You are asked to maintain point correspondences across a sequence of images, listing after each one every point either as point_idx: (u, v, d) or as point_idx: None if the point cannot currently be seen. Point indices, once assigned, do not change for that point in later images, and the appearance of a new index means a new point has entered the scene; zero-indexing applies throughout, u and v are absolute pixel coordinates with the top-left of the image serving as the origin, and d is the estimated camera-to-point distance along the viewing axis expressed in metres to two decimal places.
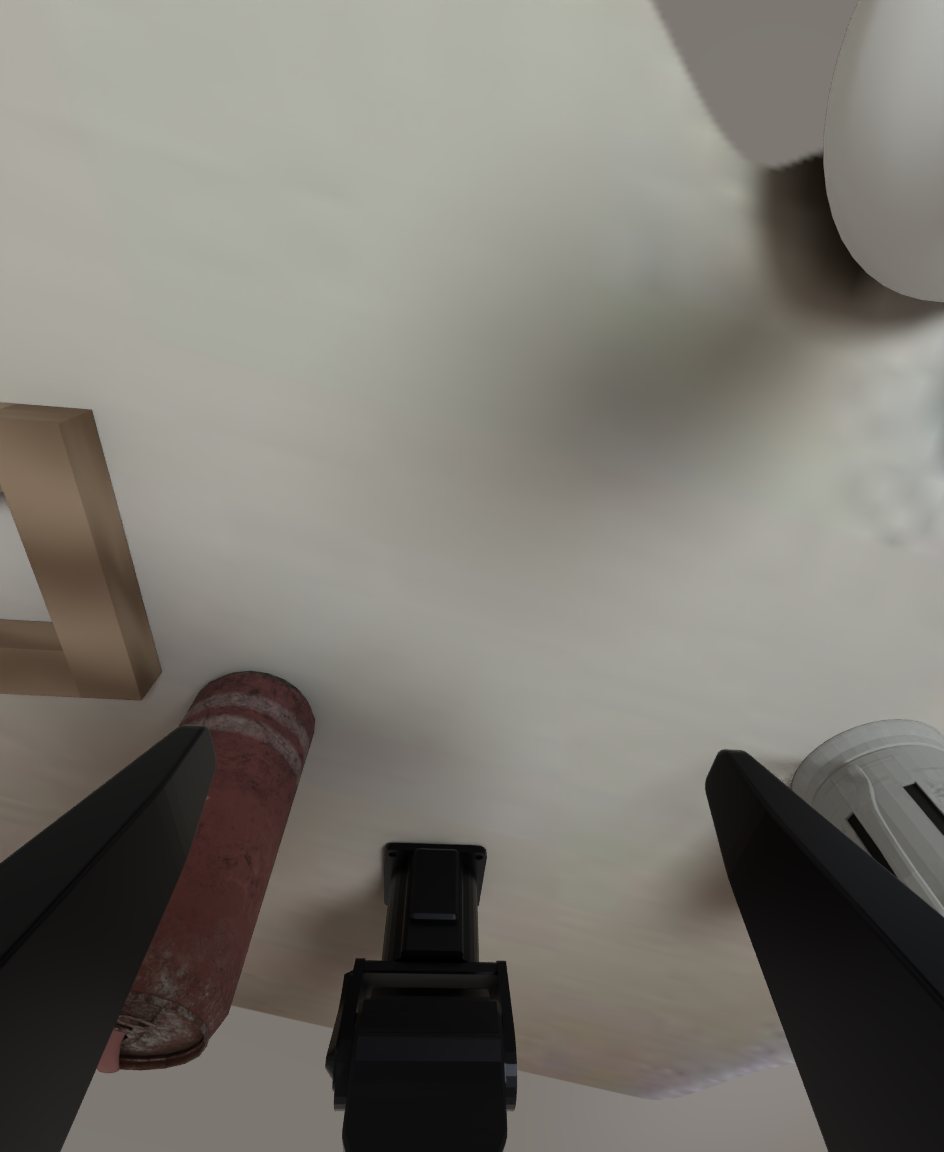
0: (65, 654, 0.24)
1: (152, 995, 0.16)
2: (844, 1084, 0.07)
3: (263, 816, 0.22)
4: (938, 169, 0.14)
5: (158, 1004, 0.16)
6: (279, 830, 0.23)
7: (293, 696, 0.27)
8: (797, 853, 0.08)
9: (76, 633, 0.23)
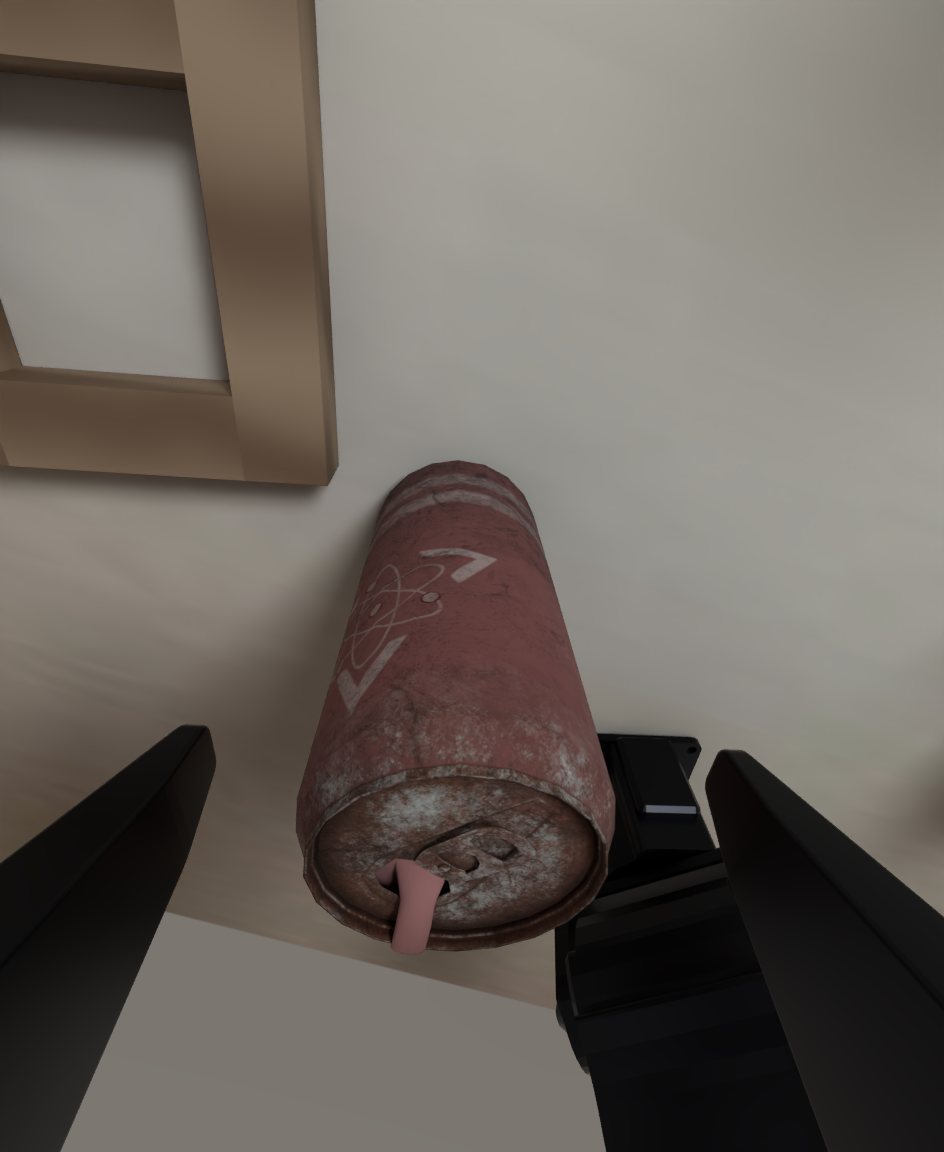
0: (234, 404, 0.17)
1: (554, 788, 0.09)
2: (844, 1084, 0.07)
3: (556, 603, 0.15)
4: None
5: (569, 802, 0.09)
6: None
7: (520, 494, 0.20)
8: (797, 853, 0.08)
9: (255, 364, 0.16)
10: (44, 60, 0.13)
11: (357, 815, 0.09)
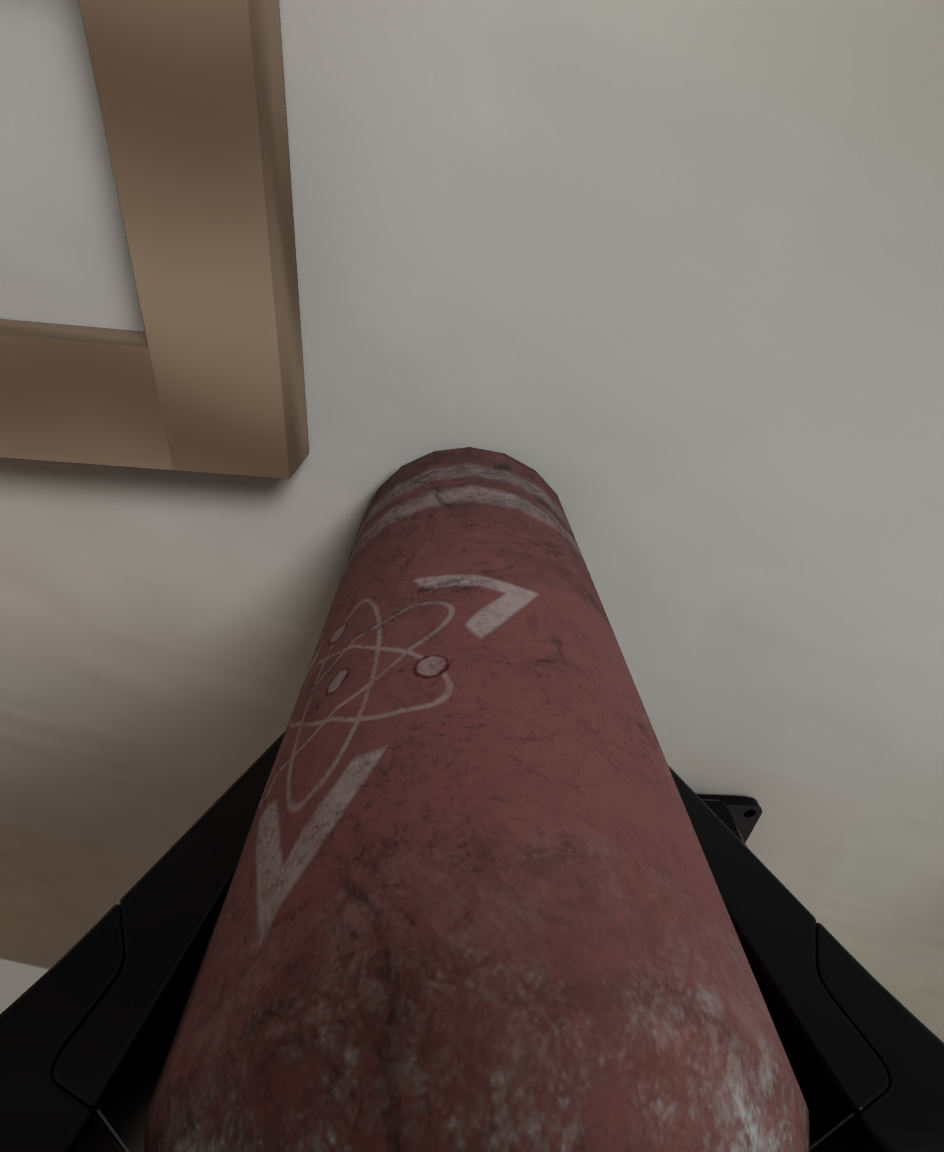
0: (152, 359, 0.12)
1: None
2: None
3: None
4: None
5: None
6: None
7: (553, 494, 0.15)
8: None
9: (180, 298, 0.11)
10: None
11: None
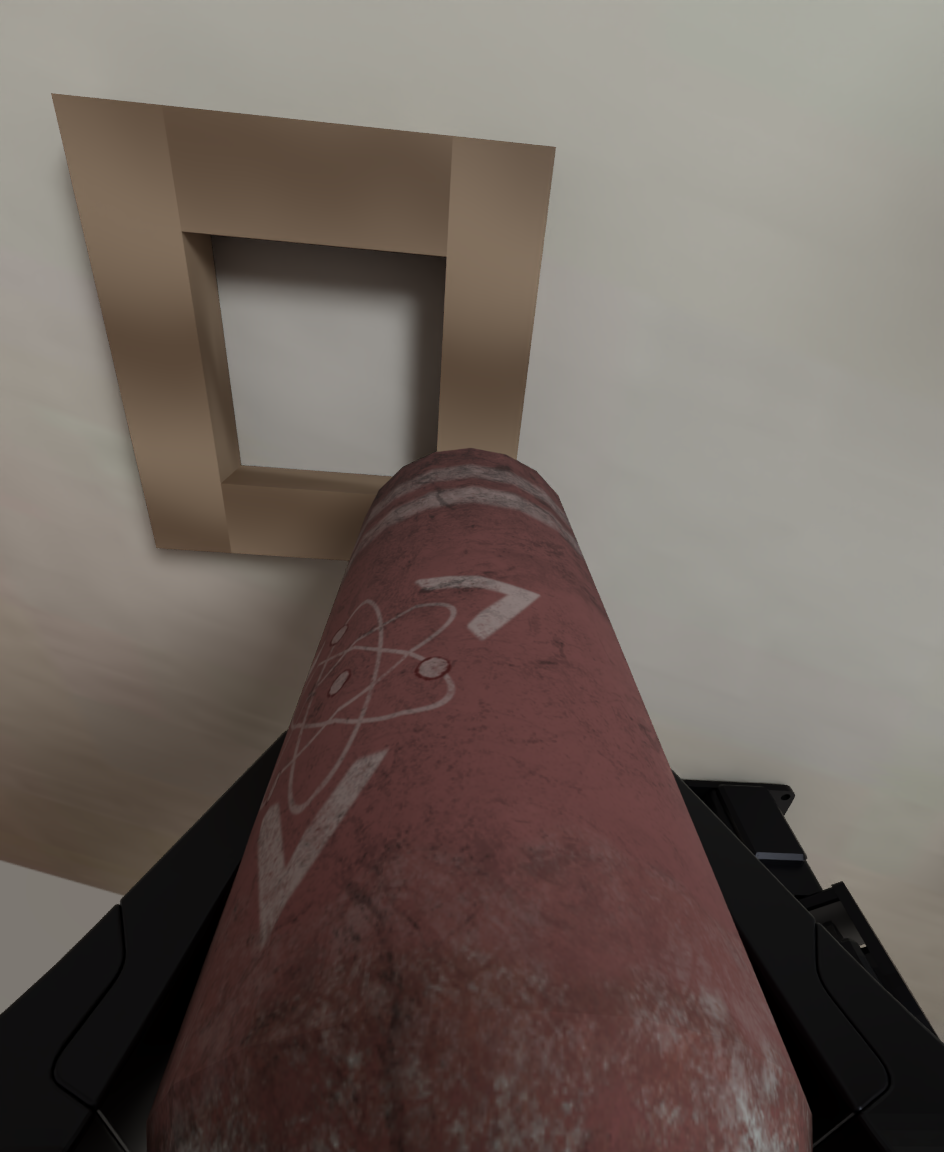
0: None
1: None
2: None
3: None
4: None
5: None
6: None
7: (554, 495, 0.15)
8: None
9: None
10: (332, 245, 0.16)
11: None
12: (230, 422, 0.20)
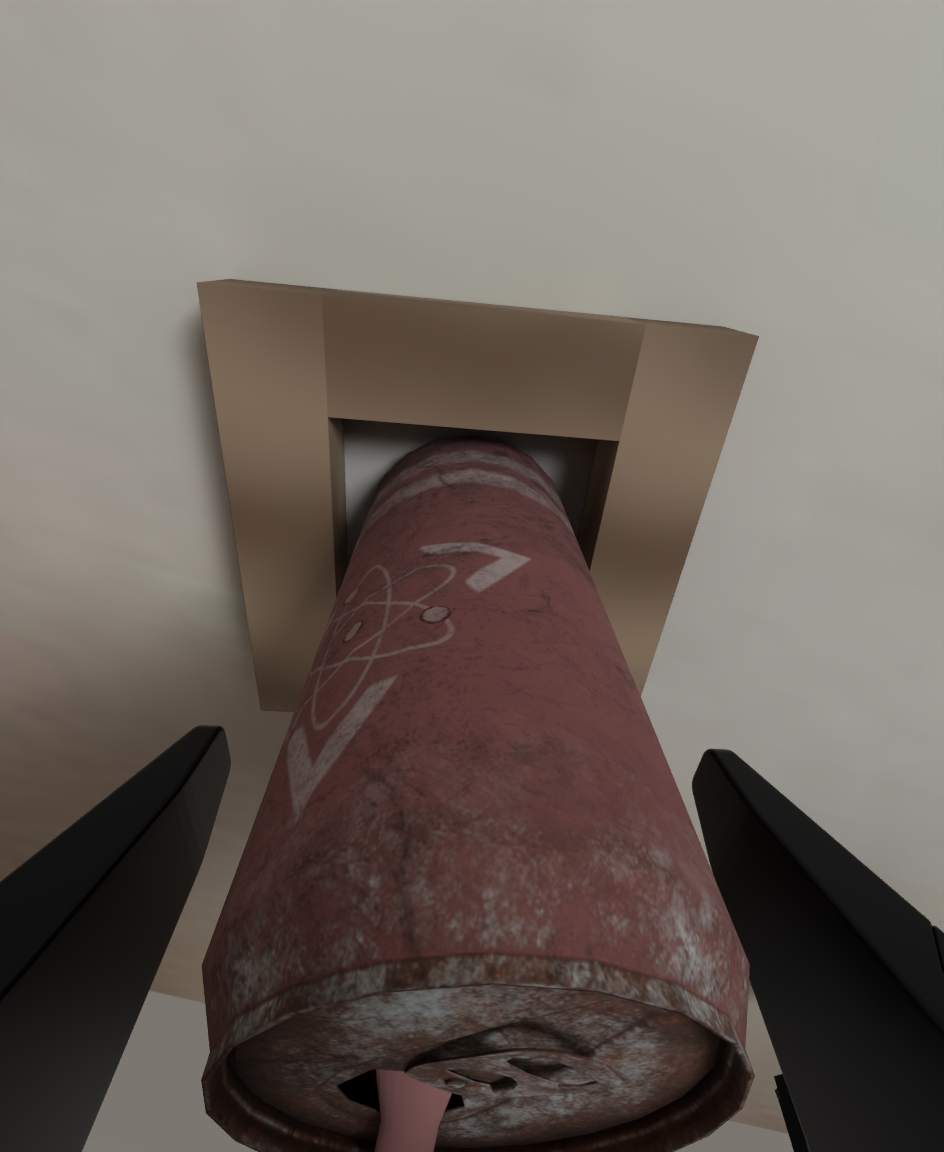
0: None
1: (669, 989, 0.05)
2: (825, 1083, 0.07)
3: None
4: None
5: (699, 1017, 0.05)
6: None
7: (548, 479, 0.16)
8: (780, 852, 0.08)
9: None
10: None
11: (299, 1017, 0.05)
12: None
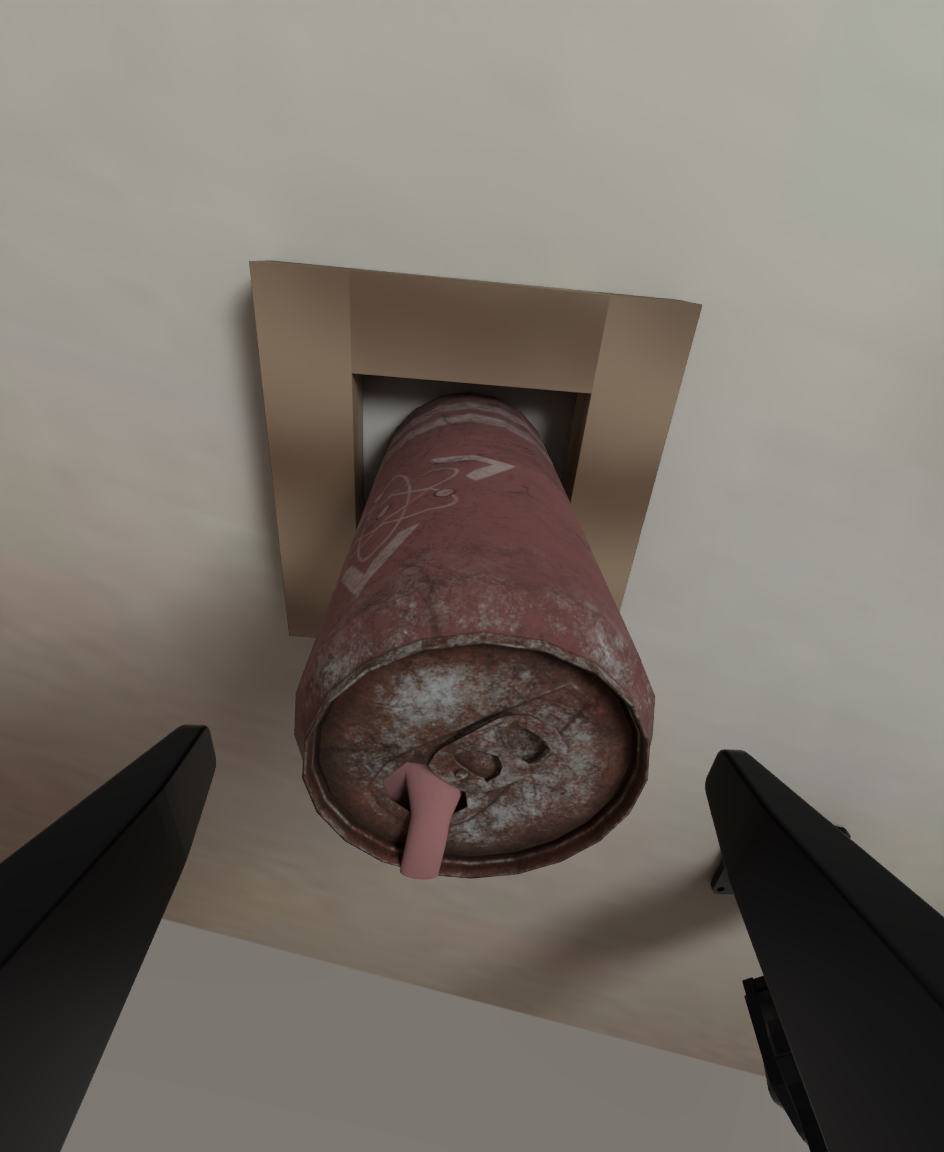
0: None
1: (591, 667, 0.08)
2: (844, 1084, 0.07)
3: None
4: None
5: (608, 681, 0.08)
6: None
7: (534, 429, 0.19)
8: (797, 853, 0.08)
9: None
10: None
11: (364, 703, 0.08)
12: None
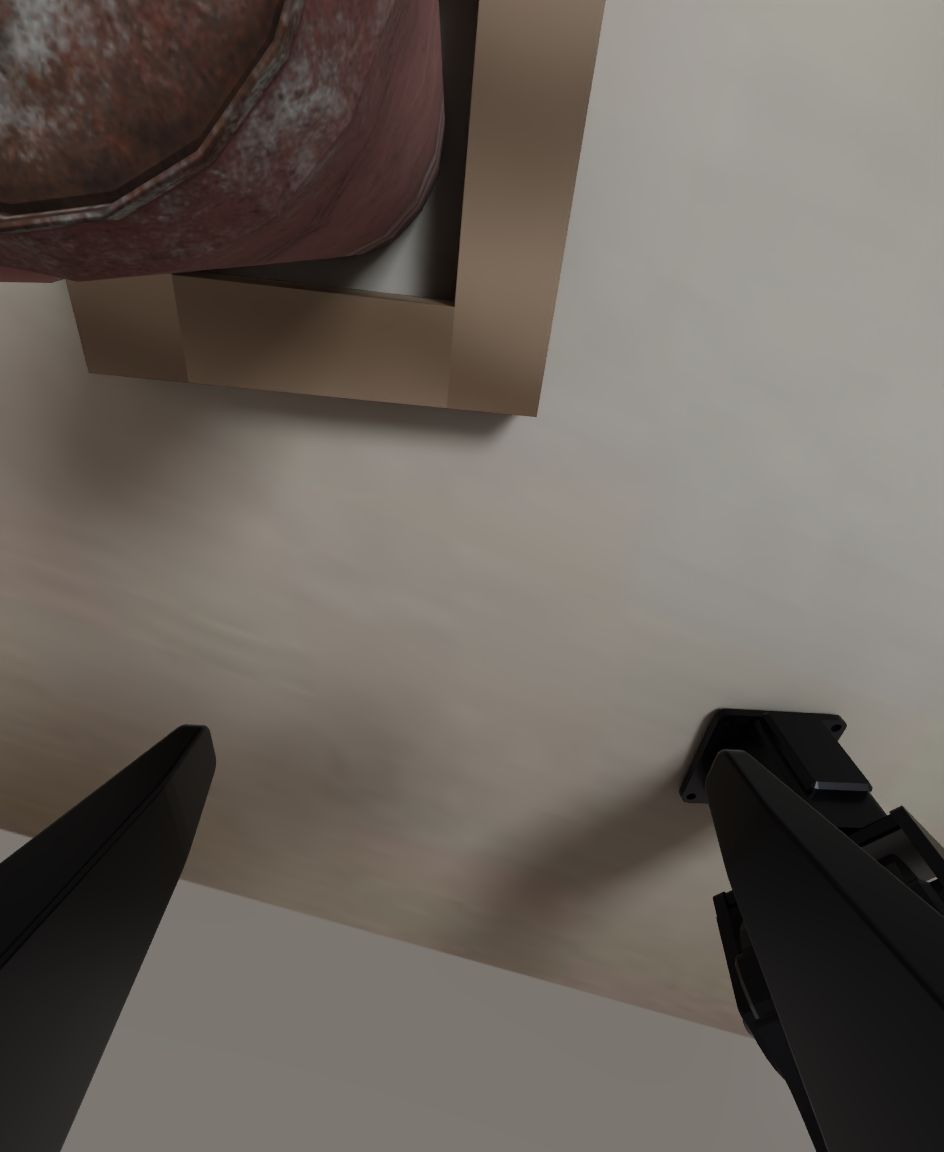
0: (454, 316, 0.15)
1: None
2: (844, 1084, 0.07)
3: None
4: None
5: None
6: None
7: None
8: (797, 853, 0.08)
9: (489, 268, 0.14)
10: None
11: None
12: None
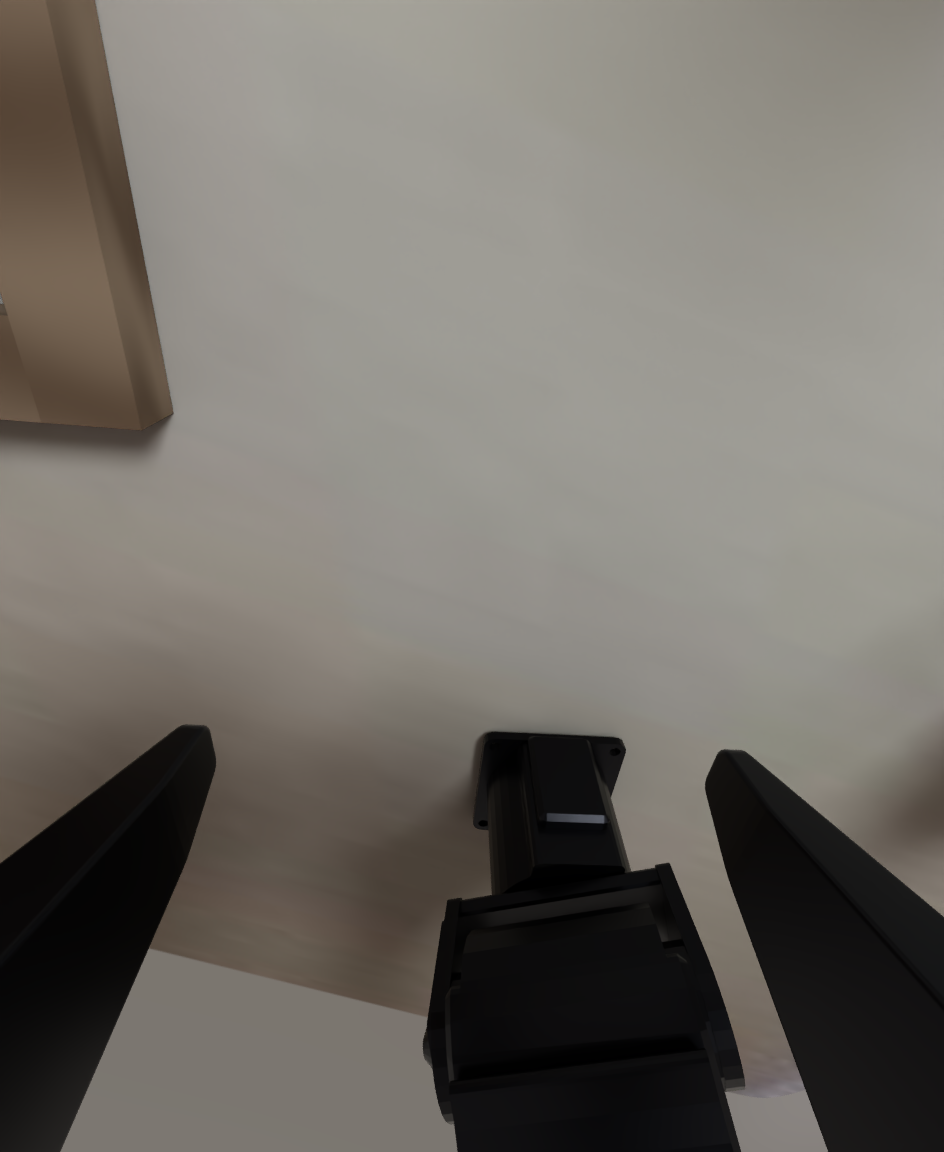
0: (12, 326, 0.14)
1: None
2: (844, 1084, 0.07)
3: None
4: None
5: None
6: None
7: None
8: (797, 853, 0.08)
9: (28, 274, 0.13)
10: None
11: None
12: None
